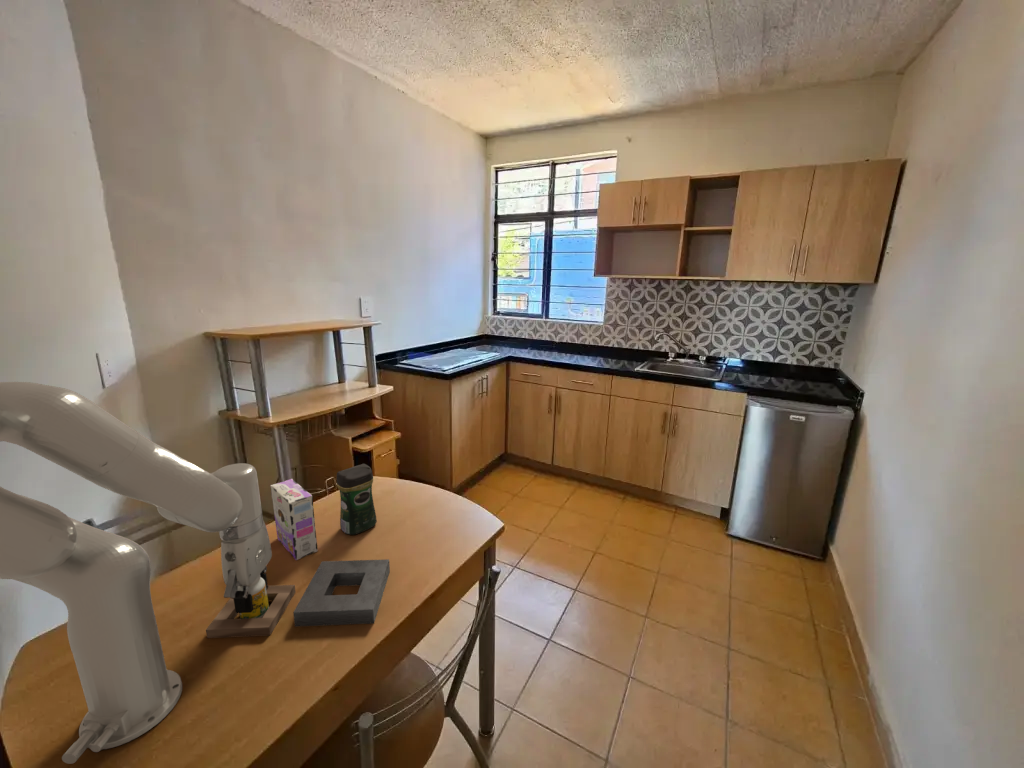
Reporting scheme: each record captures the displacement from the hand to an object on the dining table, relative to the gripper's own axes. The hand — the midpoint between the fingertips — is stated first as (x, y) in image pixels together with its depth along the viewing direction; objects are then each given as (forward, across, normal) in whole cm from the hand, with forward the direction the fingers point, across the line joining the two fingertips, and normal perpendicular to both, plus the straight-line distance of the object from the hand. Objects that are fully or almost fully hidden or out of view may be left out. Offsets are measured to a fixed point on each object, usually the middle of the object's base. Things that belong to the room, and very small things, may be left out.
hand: (252, 599), depth 88 cm
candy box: (+4, +24, +1) cm, 24 cm away
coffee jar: (+4, +32, -13) cm, 35 cm away
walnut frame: (+3, 0, 0) cm, 3 cm away
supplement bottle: (+4, 0, 0) cm, 4 cm away
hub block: (+3, +4, -18) cm, 19 cm away
